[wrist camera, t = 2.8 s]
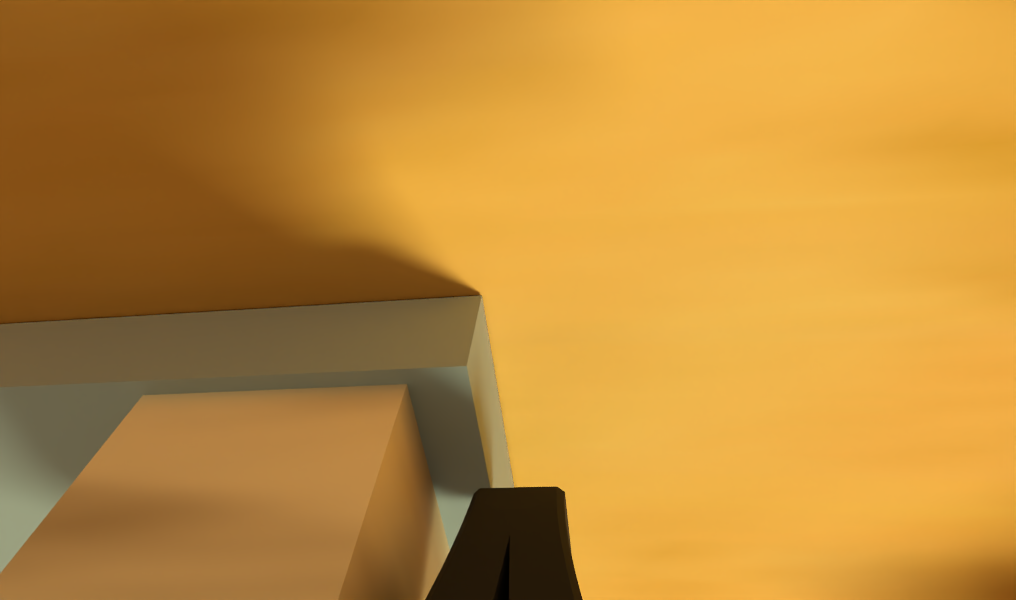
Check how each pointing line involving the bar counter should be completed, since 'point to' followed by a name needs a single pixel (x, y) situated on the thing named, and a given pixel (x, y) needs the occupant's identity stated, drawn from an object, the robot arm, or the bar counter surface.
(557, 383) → the bar counter surface
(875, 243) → the bar counter surface
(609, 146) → the bar counter surface
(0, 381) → the board
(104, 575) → the beech block
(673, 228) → the bar counter surface
